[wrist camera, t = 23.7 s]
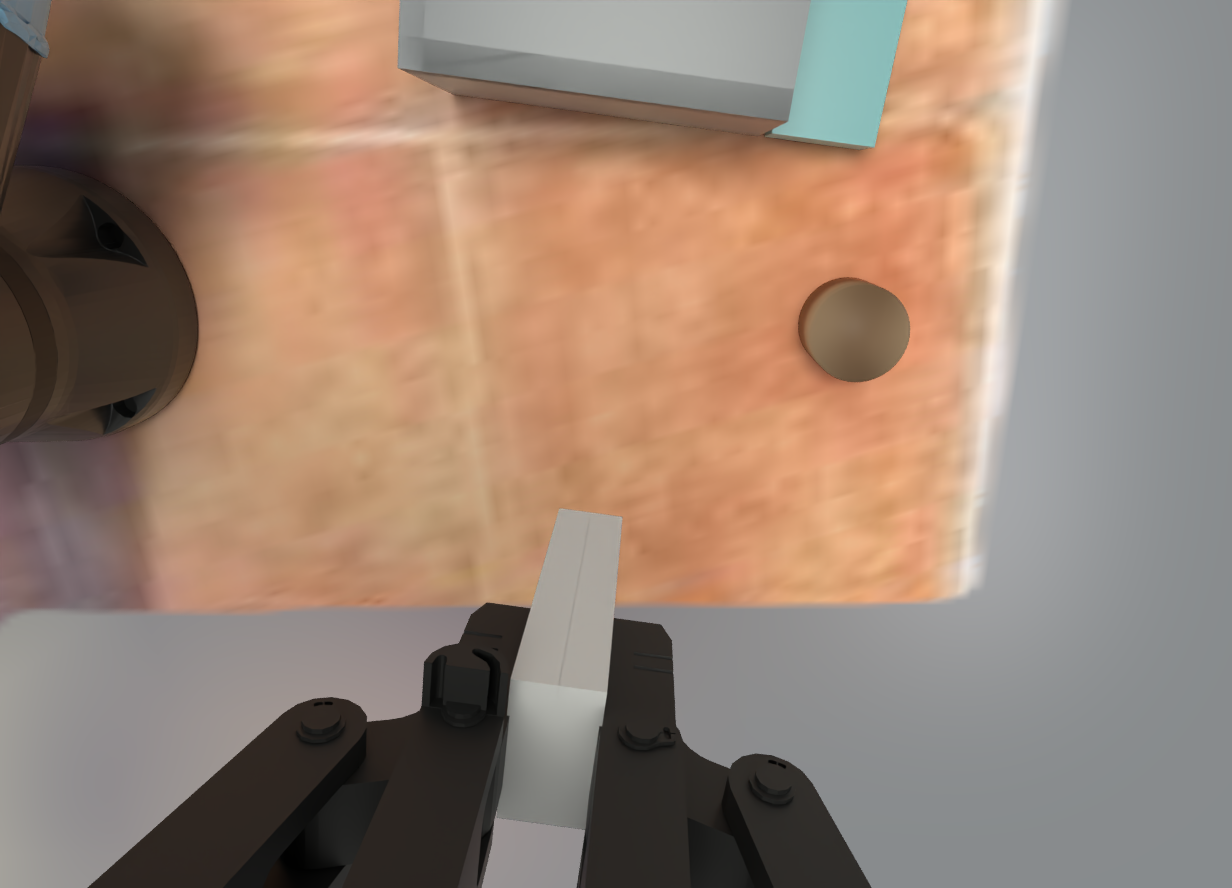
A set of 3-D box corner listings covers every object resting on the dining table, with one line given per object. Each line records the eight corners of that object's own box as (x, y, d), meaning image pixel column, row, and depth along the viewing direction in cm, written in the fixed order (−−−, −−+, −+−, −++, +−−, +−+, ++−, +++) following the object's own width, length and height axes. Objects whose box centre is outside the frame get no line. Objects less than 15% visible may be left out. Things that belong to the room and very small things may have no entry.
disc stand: (790, 360, 43) (801, 375, 40) (808, 271, 41) (822, 278, 38) (877, 372, 43) (896, 388, 40) (899, 284, 41) (921, 292, 38)
